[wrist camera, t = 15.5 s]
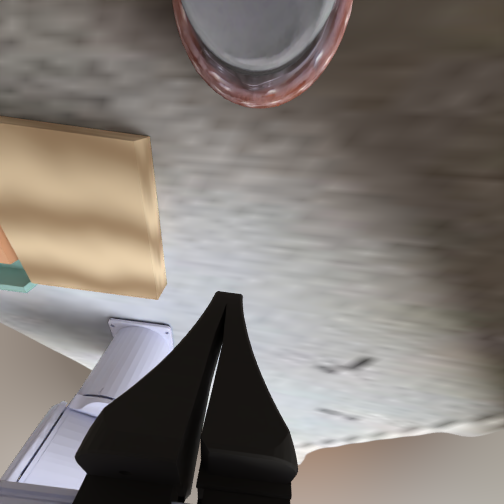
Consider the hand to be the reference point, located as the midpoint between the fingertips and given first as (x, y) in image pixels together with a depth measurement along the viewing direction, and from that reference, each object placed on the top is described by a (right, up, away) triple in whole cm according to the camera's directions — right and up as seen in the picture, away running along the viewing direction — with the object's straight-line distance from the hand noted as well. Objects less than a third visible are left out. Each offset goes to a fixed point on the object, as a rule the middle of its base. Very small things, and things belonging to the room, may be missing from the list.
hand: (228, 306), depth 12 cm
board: (-14, +6, +9) cm, 18 cm away
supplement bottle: (+2, +16, +2) cm, 16 cm away
